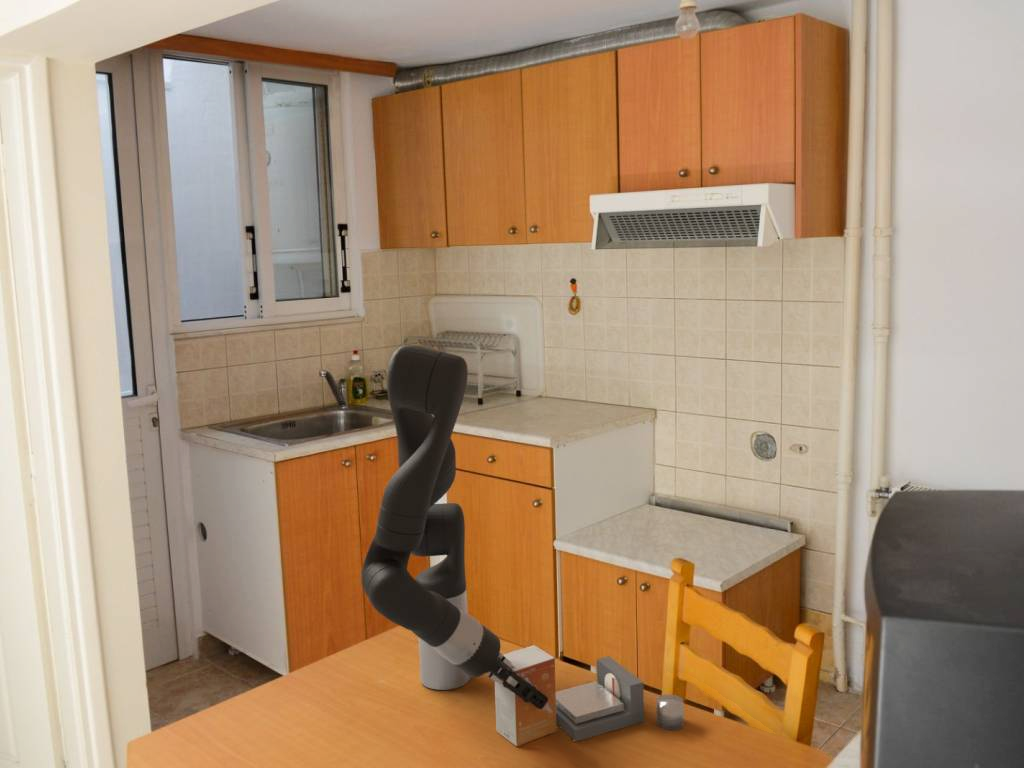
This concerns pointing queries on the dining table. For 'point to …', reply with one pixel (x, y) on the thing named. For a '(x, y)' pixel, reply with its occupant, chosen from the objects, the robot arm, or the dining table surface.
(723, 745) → the dining table surface
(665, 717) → the cylinder
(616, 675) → the scale base
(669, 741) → the dining table surface
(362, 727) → the dining table surface
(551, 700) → the small box
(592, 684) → the platter
